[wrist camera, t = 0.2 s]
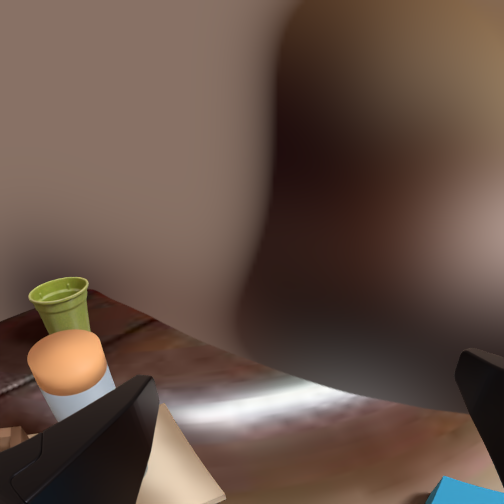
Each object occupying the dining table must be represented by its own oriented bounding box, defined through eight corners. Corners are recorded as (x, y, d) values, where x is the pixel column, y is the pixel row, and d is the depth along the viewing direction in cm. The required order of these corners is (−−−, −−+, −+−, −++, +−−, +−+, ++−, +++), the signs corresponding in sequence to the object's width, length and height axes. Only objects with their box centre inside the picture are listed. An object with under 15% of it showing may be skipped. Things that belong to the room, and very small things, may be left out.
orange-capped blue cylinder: (152, 485, 16) (98, 370, 13) (93, 490, 14) (18, 376, 11) (143, 440, 20) (102, 325, 17) (91, 446, 19) (37, 333, 15)
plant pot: (35, 347, 33) (18, 294, 31) (76, 322, 42) (64, 273, 40) (69, 367, 30) (49, 307, 28) (113, 335, 39) (101, 281, 37)
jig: (166, 409, 26) (159, 385, 25) (226, 498, 16) (221, 479, 15) (-39, 446, 12) (-57, 423, 11) (-41, 535, 2) (-67, 514, 1)
